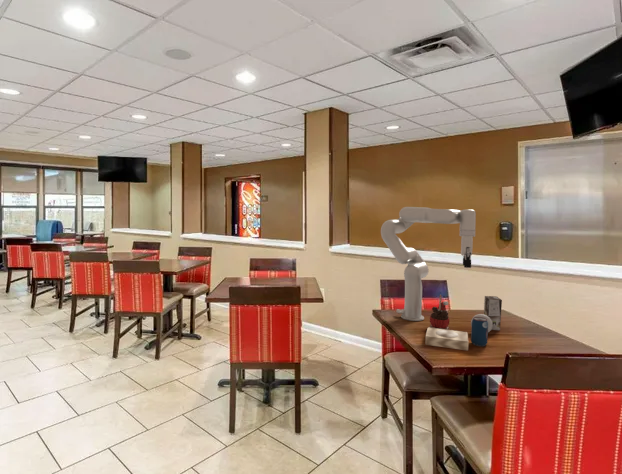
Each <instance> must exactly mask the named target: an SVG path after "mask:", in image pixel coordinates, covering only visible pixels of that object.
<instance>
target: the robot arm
mask: <svg viewBox="0 0 622 474" xmlns="http://www.w3.org/2000/svg"><path fill="white" fill-rule="evenodd" d="M398 215H399V218H395V219H388V220H386V221H384V222H383V223H382V225H381V228H380V235H381V239H382V240H383V242H384V243H385V244H386V246H387V247H388V249H389V251H390V252H391V253H392V255H393V257H394V258H395V260H396V261H397V263H399V264H400V265H407V266H406V267H405V268H404V271H403V277H404V278H403V279H404V305H403V306H404V307H403V308H402V309H398V308H396V313H397V314H401V316H400V317H401V319H403V320H406V321H412V322H420V321H423V320H425V317H424V315H422V307H423V305H422V304H423V301H422V300H423V283H422V279H424V278H425V277H427V276H428V275H429V271H430V270H429V266H428V265H427V263H426V261H425V260H424V259H423V258H422V256H421V255H420V253H419V252H418V250H416V249H415V248H413V247H410V246H408V247H407V246H406V245H405V244H404V242H403V241H402V240H401V238H400V237H398V235H397V234H402V233H403V232H406V230H407V229H409V228H410V227H411V226H412V225H414V223H423V224H430V223H432V224H443V225H444V224H445V225H454V224H459V237H461V240H460V242H461V243H460V255H461V256H462V266H463V267H464V268H466V269H469V268H470V269H471V268H472V255H473V248H474V247H473V245H474V244H473V243H474V241H473V239H474V238H475V237H476V216H477V215H476V210H474V209H462V210H459V209H448V208H447V209H446V208H430V207H426V206H425V207H424V206H423V207H420V206H419V207H417V206H403V207H402V208H401V209H400V210H399V213H398ZM473 237H474V238H473Z"/></svg>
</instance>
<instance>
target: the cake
mask: <svg viewBox="0 0 622 474" xmlns="http://www.w3.org/2000/svg"><path fill="white" fill-rule="evenodd" d="M438 302H439V303H438V304H439V305H438V307H437V306H432V308H431V311H432V313H431V314H430V317H429V323H430V325H429V328H437V329H445V330H450V327H449V325H450V318H449V312H448V311H447V308H446V306H448V305H449V302H448V301H442V294H439V300H438Z"/></svg>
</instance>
